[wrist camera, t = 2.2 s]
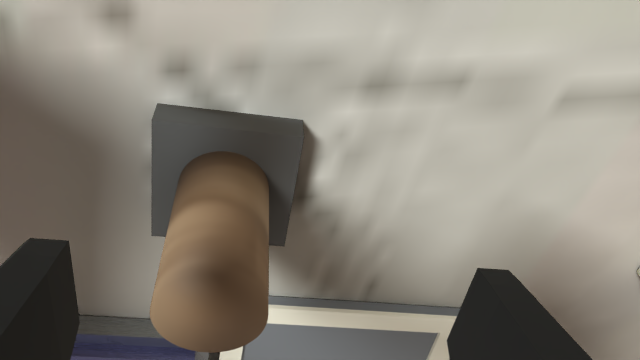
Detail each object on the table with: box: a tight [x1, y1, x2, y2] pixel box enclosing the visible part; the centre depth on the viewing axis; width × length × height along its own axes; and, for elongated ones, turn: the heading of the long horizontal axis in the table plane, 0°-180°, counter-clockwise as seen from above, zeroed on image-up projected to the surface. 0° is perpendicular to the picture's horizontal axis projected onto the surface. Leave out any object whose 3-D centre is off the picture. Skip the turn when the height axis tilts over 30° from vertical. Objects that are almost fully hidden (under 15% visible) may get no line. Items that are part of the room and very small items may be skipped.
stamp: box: [150, 104, 304, 353], centre depth 18 cm, size 5×5×7 cm
